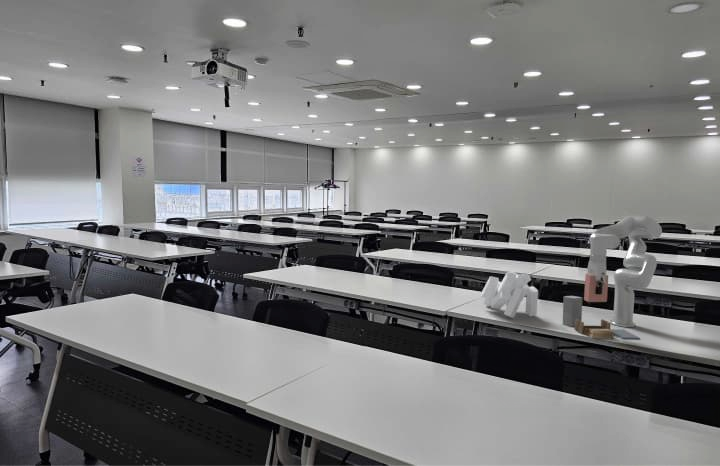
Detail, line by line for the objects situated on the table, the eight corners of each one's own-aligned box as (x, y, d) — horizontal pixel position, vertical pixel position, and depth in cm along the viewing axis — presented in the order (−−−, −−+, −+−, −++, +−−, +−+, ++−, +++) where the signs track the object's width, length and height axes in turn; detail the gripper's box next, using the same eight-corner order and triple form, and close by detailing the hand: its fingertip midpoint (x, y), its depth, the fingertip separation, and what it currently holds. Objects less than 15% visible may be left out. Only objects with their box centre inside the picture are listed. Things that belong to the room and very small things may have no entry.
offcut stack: (587, 335, 230) (588, 328, 229) (608, 335, 230) (609, 328, 230) (591, 337, 226) (592, 330, 225) (613, 338, 226) (613, 331, 226)
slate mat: (606, 330, 239) (606, 329, 239) (623, 331, 239) (623, 329, 239) (622, 339, 225) (622, 337, 225) (639, 339, 225) (640, 337, 225)
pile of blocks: (467, 318, 278) (475, 274, 259) (488, 293, 298) (497, 250, 279) (522, 344, 260) (535, 298, 241) (540, 316, 280) (553, 272, 261)
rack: (574, 329, 239) (575, 318, 239) (602, 330, 239) (603, 319, 239) (581, 333, 232) (581, 322, 232) (609, 334, 232) (610, 323, 232)
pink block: (584, 300, 236) (585, 273, 235) (602, 300, 237) (603, 274, 236) (588, 301, 232) (590, 275, 231) (606, 301, 233) (608, 275, 232)
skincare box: (572, 327, 245) (573, 298, 243) (560, 323, 251) (562, 296, 250) (582, 325, 249) (584, 297, 247) (571, 322, 255) (572, 294, 254)
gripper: (581, 256, 241) (580, 289, 242) (600, 260, 224) (598, 296, 225) (595, 256, 241) (593, 289, 243) (615, 260, 225) (612, 296, 226)
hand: (595, 292), depth 234 cm, fingers closed on pink block, 4 cm apart
